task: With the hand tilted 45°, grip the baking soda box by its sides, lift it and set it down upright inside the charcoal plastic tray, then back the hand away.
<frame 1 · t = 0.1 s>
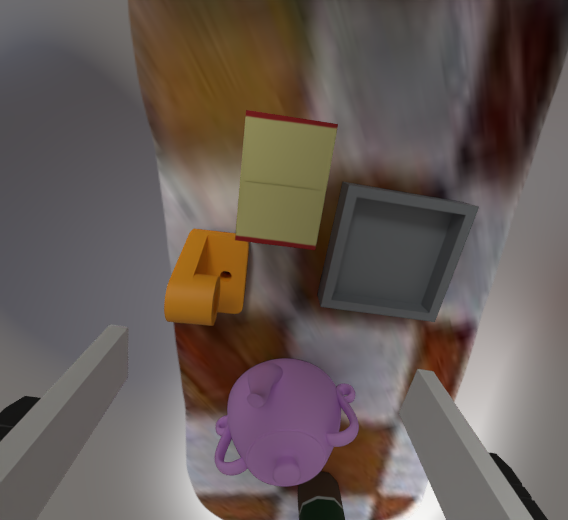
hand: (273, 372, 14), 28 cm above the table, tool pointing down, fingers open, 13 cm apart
beer bottle: (317, 482, 58), on the table
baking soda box: (279, 170, 38), on the table
bracket: (220, 267, 42), on the table
tray: (386, 250, 42), on the table
teapot: (279, 379, 49), on the table
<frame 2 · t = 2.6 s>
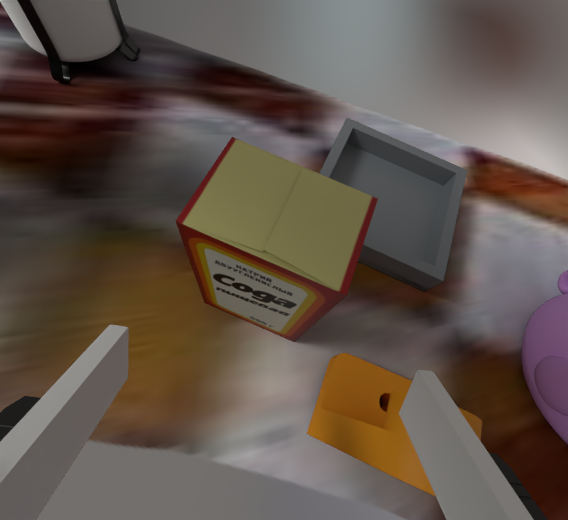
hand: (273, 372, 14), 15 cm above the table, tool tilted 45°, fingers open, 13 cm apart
coffee press: (76, 44, 41), on the table
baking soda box: (262, 293, 31), on the table
bracket: (371, 413, 28), on the table
tray: (377, 207, 37), on the table
teapot: (558, 381, 32), on the table
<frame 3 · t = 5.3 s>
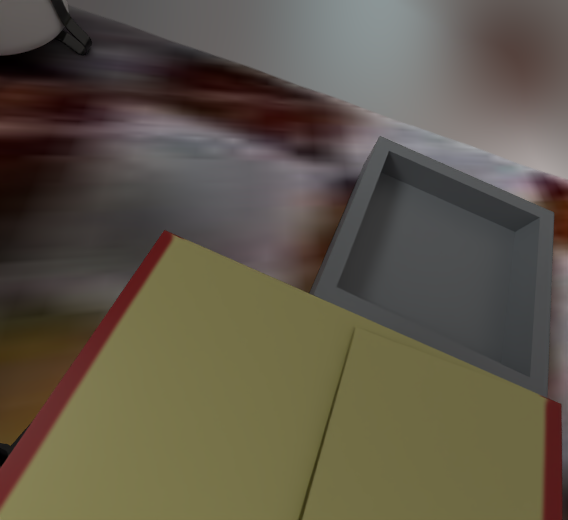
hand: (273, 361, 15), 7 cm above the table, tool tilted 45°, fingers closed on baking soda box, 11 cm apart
coffee press: (4, 32, 30), on the table
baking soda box: (255, 417, 20), on the table, touching gripper
tray: (423, 266, 26), on the table
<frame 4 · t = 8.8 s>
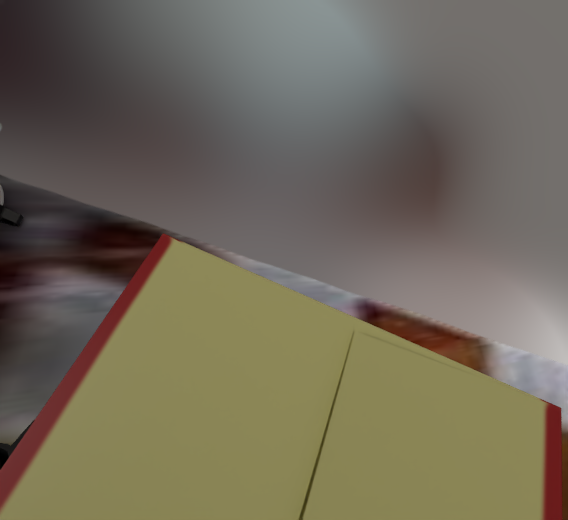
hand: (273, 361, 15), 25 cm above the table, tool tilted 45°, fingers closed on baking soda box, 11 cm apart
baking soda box: (255, 419, 20), point 18 cm above the table, touching gripper
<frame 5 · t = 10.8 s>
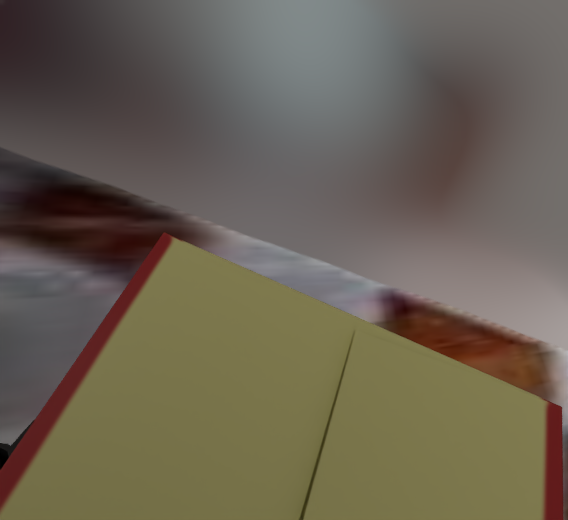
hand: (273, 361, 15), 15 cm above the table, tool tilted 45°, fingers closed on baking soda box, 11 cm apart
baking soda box: (255, 418, 20), point 8 cm above the table, touching gripper
when the fingers open (9 cm above the table, at t = 12.6 s): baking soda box drops 1 cm, resting on tray.
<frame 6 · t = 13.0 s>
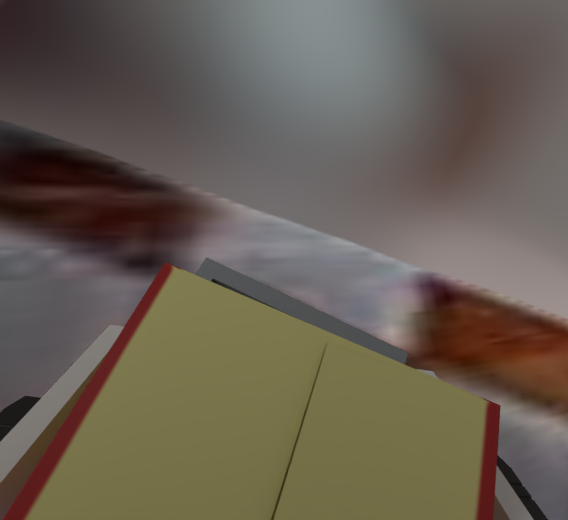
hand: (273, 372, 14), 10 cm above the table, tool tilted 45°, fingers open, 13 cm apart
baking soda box: (251, 418, 21), point 1 cm above the table, touching tray
tray: (253, 415, 22), on the table
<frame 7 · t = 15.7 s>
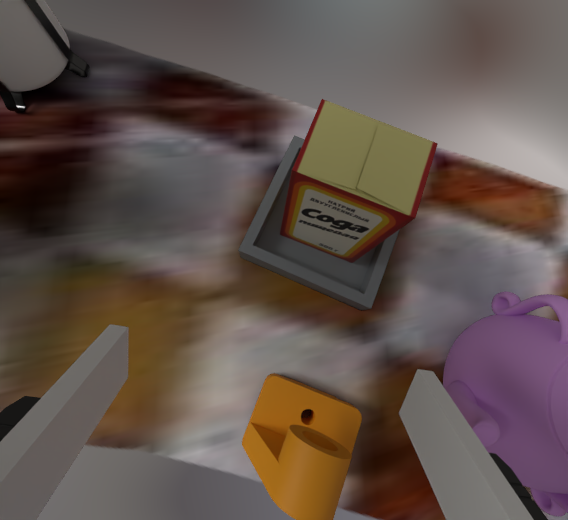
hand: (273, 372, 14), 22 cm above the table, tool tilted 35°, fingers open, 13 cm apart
coffee press: (27, 62, 41), on the table
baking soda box: (324, 225, 38), point 1 cm above the table, touching tray
bracket: (301, 419, 34), on the table
tray: (324, 226, 39), on the table
teapot: (480, 389, 36), on the table
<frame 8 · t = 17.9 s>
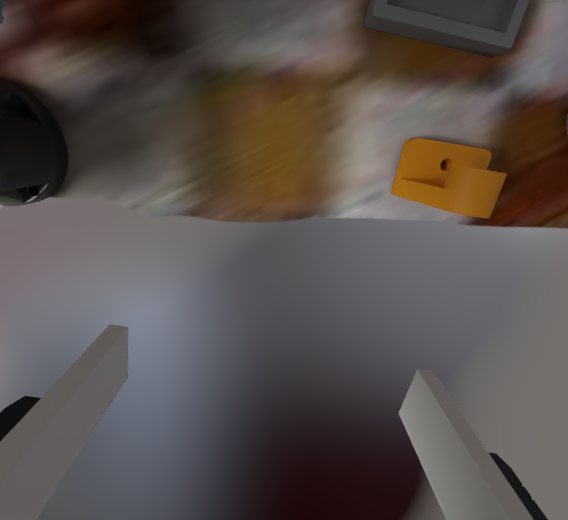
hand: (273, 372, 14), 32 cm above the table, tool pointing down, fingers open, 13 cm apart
bracket: (432, 171, 42), on the table
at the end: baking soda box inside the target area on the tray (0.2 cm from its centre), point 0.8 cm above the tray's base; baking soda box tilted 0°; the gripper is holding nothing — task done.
